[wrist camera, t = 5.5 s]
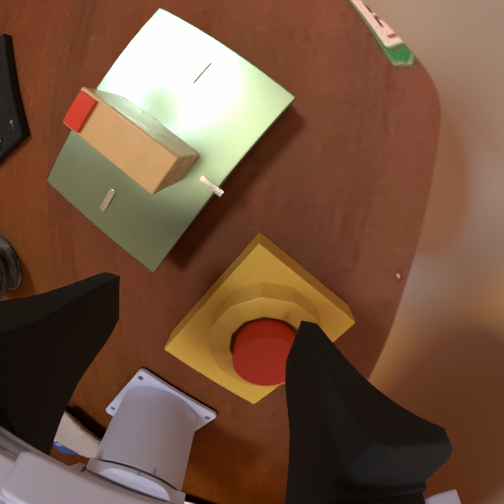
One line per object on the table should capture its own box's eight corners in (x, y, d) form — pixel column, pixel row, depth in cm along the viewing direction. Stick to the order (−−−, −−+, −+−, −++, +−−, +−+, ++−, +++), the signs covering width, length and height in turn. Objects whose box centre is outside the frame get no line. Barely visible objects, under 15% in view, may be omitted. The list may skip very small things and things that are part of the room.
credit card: (61, 452, 31) (61, 453, 31) (39, 429, 30) (39, 429, 30) (94, 455, 30) (94, 455, 30) (70, 430, 29) (69, 430, 29)
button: (269, 375, 18) (269, 394, 16) (222, 345, 17) (219, 365, 16) (310, 340, 17) (314, 360, 15) (263, 306, 16) (262, 325, 14)
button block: (254, 384, 23) (252, 422, 19) (172, 331, 21) (156, 366, 18) (348, 304, 20) (363, 339, 16) (259, 231, 18) (258, 255, 15)
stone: (22, 378, 23) (134, 461, 25) (37, 363, 26) (141, 441, 28) (11, 416, 25) (102, 482, 27) (22, 402, 28) (109, 466, 30)
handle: (200, 153, 14) (176, 158, 10) (178, 182, 15) (149, 197, 11) (121, 94, 13) (79, 84, 9) (103, 122, 13) (58, 122, 10)
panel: (172, 258, 19) (157, 278, 16) (68, 171, 17) (41, 178, 14) (296, 108, 16) (302, 101, 13) (171, 22, 14) (154, 3, 11)
